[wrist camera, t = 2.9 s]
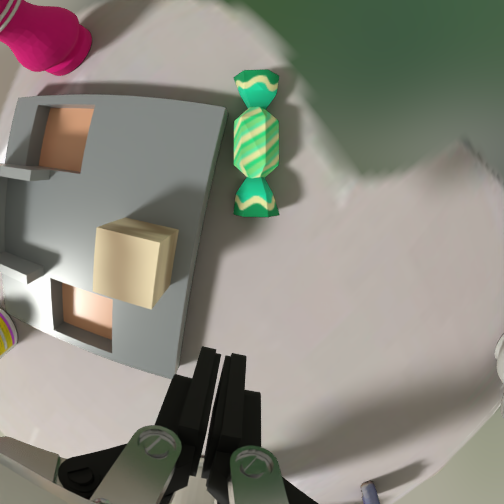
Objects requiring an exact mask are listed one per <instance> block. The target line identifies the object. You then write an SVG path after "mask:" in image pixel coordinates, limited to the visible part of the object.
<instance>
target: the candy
mask: <svg viewBox="0 0 504 504" xmlns="http://www.w3.org/2000/svg"><path fill="white" fill-rule="evenodd" d="M234 80H235V83H236V85H237V88H238V91H239V94H240V96H241V97H242V99H243V101H244V103H245V104H246V106H247V108H248V109H247V110H246V111H245V112H244V113H243V114H241V115H240V116H239V117H238V118H237V119H236V120H235V121H234V166H236V167H237V168H238V169H239V170H240V171H241V172H242V173H243V174H244V175H245V176H247V177H246V179H245V180H244V182H243V184H242V185H241V187H240V188H239V190H238V191H237V193H236V197H235V205H234V213H233V214H234V215H238V216H242V217H271V216H277V215H279V212H278V208H277V205H276V202H275V199H274V196H273V193H272V191H271V189H270V187H269V185H268V184H267V182H266V180H265V177H266V176H267V175H268V174H269V173H271V172H272V171H273V170H274V169H275V168H276V167H277V166H278V165H279V121H278V120H277V119H276V118H275V117H273V116H272V115H271V114H270V113H269V112H268V111H267V110H266V108H267V107H268V106H269V104H270V103H271V101H272V100H273V99H274V97H275V96H276V94H277V88H278V81H279V76H278V75H277V74H275V73H273V72H271V71H270V70H244V71H242V72H241V73H239V74H238V75H236V76H235V77H234Z"/></svg>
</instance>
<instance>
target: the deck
mask: <svg viewBox="0 0 504 504" xmlns="http://www.w3.org/2000/svg"><path fill="white" fill-rule="evenodd" d="M227 117H228V112H227V110H226V108H225V107H220V106H214V105H208V104H202V103H195V102H188V101H180V100H172V99H163V98H152V97H140V96H124V95H94V94H76V95H48V96H33V97H22V98H18V101H17V105H16V109H15V113H14V117H13V122H12V126H11V131H10V136H9V141H8V147H7V153H6V159H5V164H0V272H1V273H2V284H3V293H4V301H5V309H6V313H8V314H10V315H11V316H13V317H15V318H17V319H19V320H21V321H23V322H25V323H27V324H29V325H31V326H32V327H35V328H37V329H39V330H41V331H43V332H45V333H47V334H49V335H51V336H53V337H56V338H58V339H60V340H62V341H64V342H67V343H69V344H71V345H74V346H76V347H79V348H81V349H83V350H86V351H88V352H91V353H93V354H96V355H99V356H101V357H104V358H107V359H109V360H112V361H115V362H118V363H121V364H124V365H126V366H129V367H132V368H136V369H139V370H142V371H145V372H148V373H151V374H155V375H158V376H162V377H165V378H169V379H172V378H173V376H174V374H176V373H177V370H178V368H179V362H180V355H181V348H182V341H183V334H184V328H185V321H186V315H187V309H188V302H189V296H190V291H191V285H192V279H193V273H194V268H195V262H196V257H197V252H198V246H199V241H200V236H201V231H202V226H203V221H204V216H205V212H206V207H207V202H208V198H209V193H210V188H211V184H212V179H213V175H214V171H215V166H216V162H217V158H218V154H219V149H220V145H221V141H222V137H223V133H224V129H225V125H226V121H227ZM125 217H126V218H130V219H134V220H139V221H143V222H148V223H152V224H156V225H161V226H165V227H170V228H174V229H178V230H179V233H178V238H177V244H176V250H175V256H174V262H173V269H172V275H171V282H170V286H169V287H168V289H167V290H166V291H165V293H164V294H163V295H162V296H161V298H160V299H159V300H158V302H157V303H156V304H155V306H154V307H153V308H152V310H151V309H148V308H144V307H141V306H137V305H134V304H131V303H127V302H124V301H121V300H118V299H114V298H111V297H108V296H105V295H102V294H99V293H96V292H93V268H94V252H95V239H96V228H97V227H99V226H102V225H104V224H107V223H110V222H113V221H116V220H119V219H122V218H125Z"/></svg>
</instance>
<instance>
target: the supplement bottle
mask: <svg viewBox="0 0 504 504" xmlns="http://www.w3.org/2000/svg"><path fill="white" fill-rule="evenodd" d="M16 344H17V332H16V329H15V326H14V324H13V322H12V320H11V319H10V317H9V316H8V315H7V313H6V312H5V311H4V310H2V309H1V308H0V359H1V358H2V357H3V356H4V355H5V354H7V353H8V352H9V351H10V350H11V349H12V348H14V347H15V346H16Z"/></svg>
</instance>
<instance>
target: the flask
mask: <svg viewBox="0 0 504 504" xmlns="http://www.w3.org/2000/svg"><path fill="white" fill-rule="evenodd" d="M367 482H369V483H366V482H365V483H362V485H361V492H362V494H363V495H362V500H363V503H364V504H380V502H379V499H378V495H377V491H376V488H375V486H374V483H373V482H372V481H367Z"/></svg>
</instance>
